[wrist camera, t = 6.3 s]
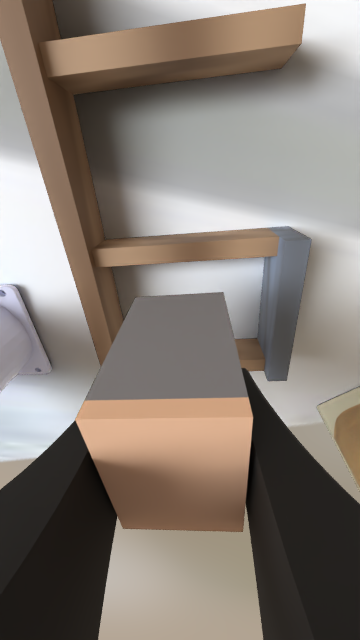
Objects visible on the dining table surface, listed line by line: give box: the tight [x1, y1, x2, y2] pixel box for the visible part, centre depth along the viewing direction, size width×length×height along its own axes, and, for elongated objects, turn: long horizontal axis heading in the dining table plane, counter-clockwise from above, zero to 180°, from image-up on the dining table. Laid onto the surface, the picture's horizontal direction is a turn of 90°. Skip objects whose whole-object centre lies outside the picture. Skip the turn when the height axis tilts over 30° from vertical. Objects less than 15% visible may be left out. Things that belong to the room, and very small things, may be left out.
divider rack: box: [0, 0, 312, 381], centre depth 12 cm, size 12×25×4 cm, turn 5°
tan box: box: [75, 292, 253, 532], centre depth 9 cm, size 4×5×6 cm
